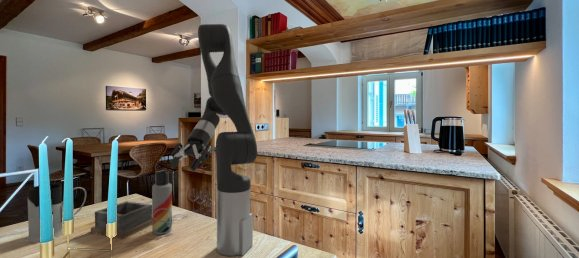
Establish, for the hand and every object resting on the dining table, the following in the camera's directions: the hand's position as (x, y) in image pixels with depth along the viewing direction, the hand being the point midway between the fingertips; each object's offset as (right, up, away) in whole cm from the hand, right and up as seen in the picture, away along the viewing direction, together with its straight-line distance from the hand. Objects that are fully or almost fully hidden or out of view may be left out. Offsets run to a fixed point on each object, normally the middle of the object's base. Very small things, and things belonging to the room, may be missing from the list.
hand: (181, 168), depth 94 cm
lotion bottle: (-3, -19, -8) cm, 21 cm away
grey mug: (-34, -19, -10) cm, 41 cm away
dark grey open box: (-17, -19, -6) cm, 26 cm away
